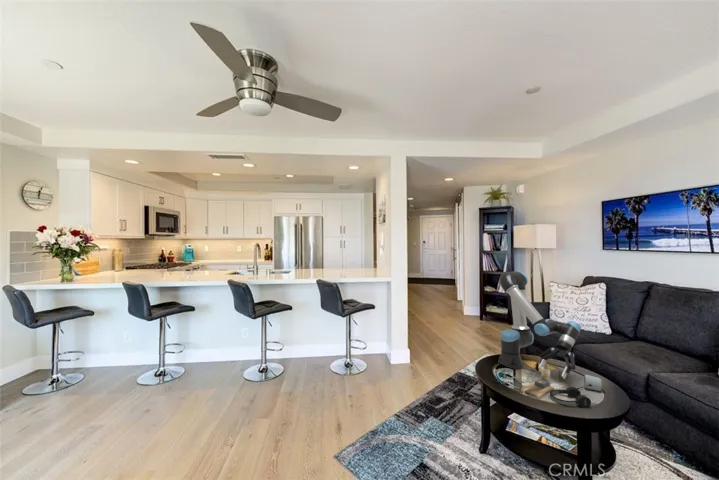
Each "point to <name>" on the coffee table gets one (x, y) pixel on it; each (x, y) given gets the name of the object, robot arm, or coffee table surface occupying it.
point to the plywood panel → (536, 390)
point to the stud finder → (541, 383)
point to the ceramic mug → (593, 383)
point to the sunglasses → (503, 374)
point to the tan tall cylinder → (545, 373)
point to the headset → (572, 393)
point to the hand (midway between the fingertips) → (551, 373)
